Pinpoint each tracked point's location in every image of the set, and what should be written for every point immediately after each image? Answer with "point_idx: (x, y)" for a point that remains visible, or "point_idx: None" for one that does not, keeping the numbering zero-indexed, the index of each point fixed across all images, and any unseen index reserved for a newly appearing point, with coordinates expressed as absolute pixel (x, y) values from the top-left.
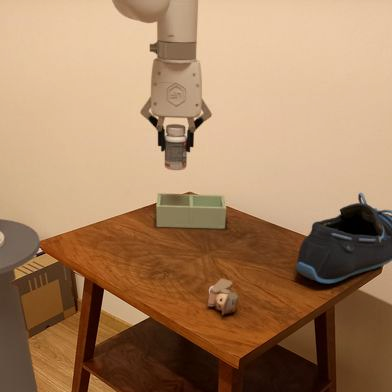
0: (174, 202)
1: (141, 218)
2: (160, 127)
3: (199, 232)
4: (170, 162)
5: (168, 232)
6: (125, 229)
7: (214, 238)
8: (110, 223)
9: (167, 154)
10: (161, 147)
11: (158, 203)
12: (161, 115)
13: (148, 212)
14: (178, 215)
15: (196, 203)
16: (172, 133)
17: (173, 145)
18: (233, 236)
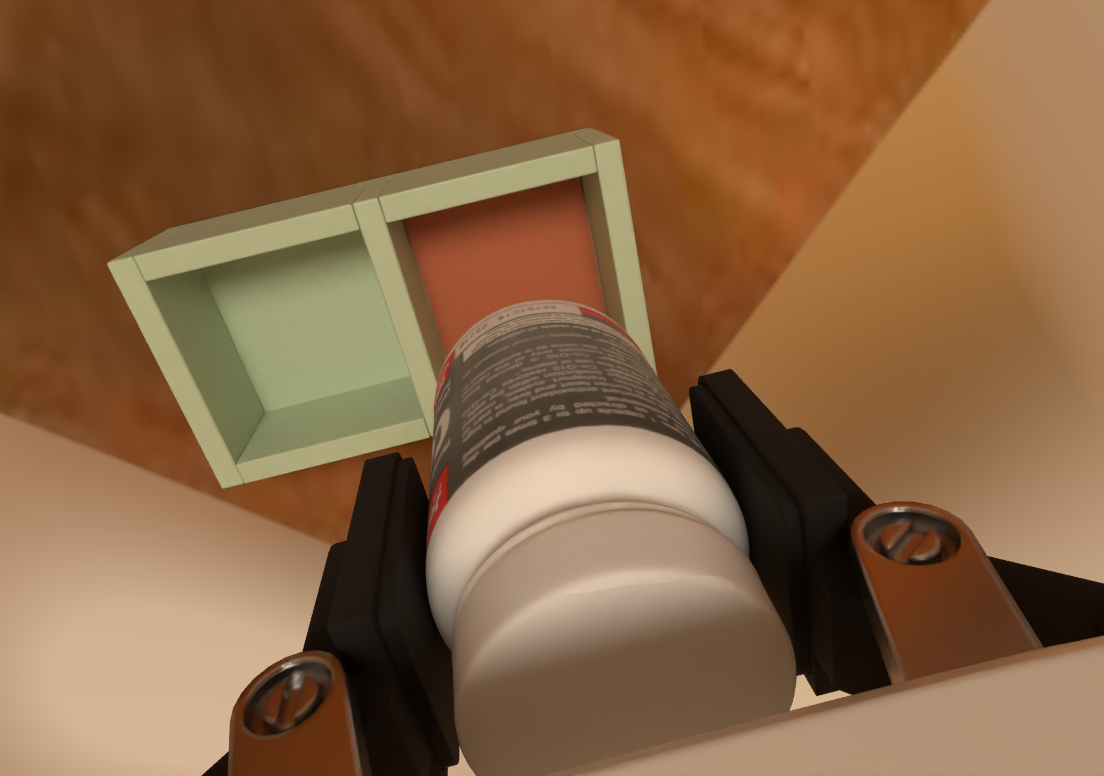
0: None
1: (704, 230)
2: (892, 564)
3: (305, 124)
4: (583, 323)
5: (497, 63)
6: (769, 30)
7: (175, 52)
8: (870, 98)
9: (639, 369)
10: (739, 384)
11: (615, 200)
12: (1095, 649)
13: (681, 327)
14: (457, 168)
15: (401, 400)
16: (639, 515)
17: (580, 401)
18: (65, 125)
